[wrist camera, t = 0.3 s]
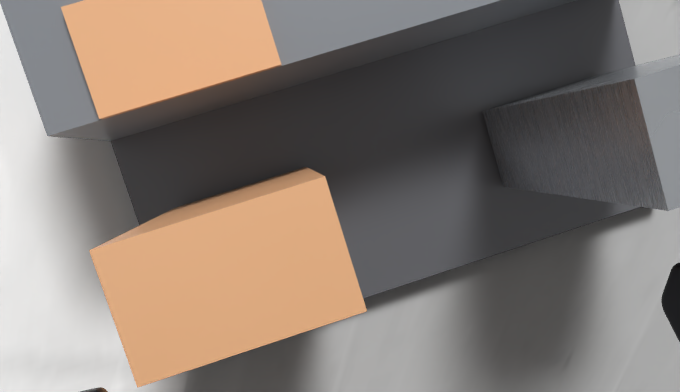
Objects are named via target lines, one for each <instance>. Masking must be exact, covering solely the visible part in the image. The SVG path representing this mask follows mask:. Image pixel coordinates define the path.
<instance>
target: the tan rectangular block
mask: <svg viewBox="0 0 680 392" xmlns="http://www.w3.org/2000/svg"><path fill="white" fill-rule="evenodd" d="M89 252H90V254H91V257H92V260H93V263H94V266H95V269H96V271H97V274H98V277H99V280H100V283H101V286H102V288H103V291H104V294H105V297H106V300H107V303H108V305H109V308H110V311H111V314H112V317H113V320H114V322H115V325H116V328H117V331H118V334H119V336H120V339H121V342H122V345H123V348H124V351H125V353H126V356H127V359H128V362H129V365H130V368H131V370H132V373H133V376H134V379H135V382H136V385H137V387H140V386H143V385H146V384H149V383H153V382H156V381H159V380H162V379H165V378H168V377H171V376H174V375H177V374H180V373H183V372H186V371H189V370H192V369H195V368H198V367H201V366H204V365H207V364H210V363H213V362H216V361H219V360H222V359H225V358H228V357H231V356H234V355H237V354H240V353H243V352H246V351H249V350H252V349H255V348H258V347H261V346H264V345H267V344H270V343H273V342H276V341H279V340H282V339H285V338H288V337H291V336H294V335H297V334H300V333H303V332H306V331H309V330H312V329H315V328H318V327H321V326H324V325H327V324H330V323H333V322H336V321H339V320H342V319H345V318H348V317H351V316H354V315H357V314H360V313H363V312H366V311H367V309H366V306H365V303H364V300H363V296H362V293H361V290H360V287H359V284H358V280H357V277H356V274H355V271H354V268H353V264H352V261H351V258H350V255H349V251H348V248H347V245H346V242H345V239H344V235H343V232H342V229H341V226H340V223H339V219H338V216H337V213H336V210H335V207H334V203H333V200H332V197H331V194H330V190H329V187H328V184H327V181H326V178H325V176H323V175H322V174H320V173H318V172H316V171H314V170H312V169H310V168H308V167H304V168H301V169H298V170H294V171H291V172H288V173H285V174H282V175H278V176H275V177H272V178H269V179H266V180H262V181H259V182H256V183H253V184H250V185H246V186H243V187H240V188H237V189H234V190H230V191H227V192H224V193H221V194H218V195H214V196H211V197H208V198H205V199H201V200H198V201H195V202H192V203H189V204H185V205H182V206H179V207H176V208H174V209H172V210H170V211H168V212H166V213H164V214H162V215H160V216H158V217H156V218H154V219H152V220H150V221H148V222H146V223H144V224H141V225H139V226H137V227H135V228H133V229H131V230H129V231H127V232H125V233H123V234H121V235H119V236H117V237H115V238H113V239H111V240H109V241H107V242H105V243H103V244H101V245H99V246H97V247H95V248H93V249H91V250H89Z"/></svg>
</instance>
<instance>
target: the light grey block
mask: <svg viewBox="0 0 680 392" xmlns="http://www.w3.org/2000/svg"><path fill="white" fill-rule="evenodd" d="M483 116H484V119H485V123H486V126H487V130H488V133H489V137H490V140H491V144H492V147H493V151H494V154H495V158H496V161H497V165H498V169H499V172H500V176H501V179H502V183H503V186H504V187H508V188H515V189H522V190H528V191H535V192H542V193H549V194H556V195H563V196H570V197H577V198H583V199H590V200H597V201H604V202H611V203H618V204H625V205H632V206H638V207H645V208H652V209H659V210H666V211H669V210H672V209H675V208H678V207H680V55H676V56H672V57H668V58H664V59H660V60H656V61H652V62H648V63H644V64H640V65H636V66H632V67H628V68H624V69H620V70H616V71H612V72H608V73H604V74H601V75H598V76H595V77H592V78H588V79H585V80H582V81H579V82H576V83H572V84H569V85H566V86H563V87H560V88H556V89H553V90H550V91H547V92H544V93H540V94H537V95H534V96H531V97H528V98H524V99H521V100H518V101H515V102H512V103H508V104H505V105H502V106H499V107H495V108H492V109H489V110H486V111H483Z"/></svg>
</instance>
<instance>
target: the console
mask: <svg viewBox="0 0 680 392" xmlns="http://www.w3.org/2000/svg"><path fill="white" fill-rule="evenodd" d="M0 3H1V6H2V9H3V12H4V15H5V18H6V20H7V23H8V26H9V29H10V32H11V35H12V37H13V40H14V43H15V46H16V49H17V52H18V54H19V57H20V60H21V63H22V66H23V68H24V71H25V74H26V77H27V80H28V83H29V85H30V88H31V91H32V94H33V97H34V100H35V102H36V105H37V108H38V111H39V114H40V117H41V119H42V122H43V125H44V128H45V131H46V133H47V136H53V137H66V138H78V139H91V140H104V141H111V143H112V146H113V149H114V152H115V155H116V158H117V161H118V164H119V166H120V169H121V172H122V175H123V178H124V181H125V184H126V187H127V190H128V193H129V196H130V198H131V201H132V204H133V207H134V210H135V213H136V216H137V219H138V222H139V225H141V224H144V223H146V222H148V221H150V220H152V219H154V218H156V217H158V216H160V215H162V214H164V213H166V212H168V211H170V210H172V209H174V208H176V207H179V206H182V205H185V204H189V203H192V202H195V201H198V200H201V199H205V198H208V197H211V196H214V195H218V194H221V193H224V192H227V191H230V190H234V189H237V188H240V187H243V186H246V185H250V184H253V183H256V182H259V181H262V180H266V179H269V178H272V177H275V176H278V175H282V174H285V173H288V172H291V171H294V170H298V169H301V168H304V167H308V168H310V169H312V170H314V171H316V172H318V173H320V174H322V175H323V176H325V178H326V181H327V184H328V187H329V190H330V194H331V197H332V200H333V203H334V207H335V210H336V213H337V216H338V219H339V223H340V226H341V229H342V232H343V235H344V239H345V242H346V245H347V248H348V251H349V255H350V258H351V261H352V264H353V268H354V271H355V274H356V277H357V280H358V284H359V287H360V290H361V293H362V296H363V298H366V297H369V296H372V295H375V294H378V293H381V292H384V291H387V290H390V289H393V288H396V287H399V286H402V285H405V284H408V283H411V282H414V281H417V280H420V279H423V278H426V277H429V276H433V275H436V274H439V273H442V272H445V271H448V270H451V269H454V268H457V267H460V266H463V265H466V264H469V263H472V262H475V261H478V260H481V259H484V258H487V257H490V256H493V255H496V254H499V253H502V252H505V251H508V250H511V249H514V248H517V247H520V246H523V245H526V244H529V243H532V242H535V241H538V240H541V239H544V238H547V237H550V236H554V235H557V234H560V233H563V232H566V231H569V230H572V229H575V228H578V227H581V226H584V225H587V224H590V223H593V222H596V221H599V220H602V219H605V218H608V217H611V216H614V215H617V214H620V213H623V212H626V211H629V210H632V209H635V208H638V206H632V205H625V204H618V203H611V202H604V201H597V200H590V199H583V198H577V197H570V196H563V195H556V194H549V193H542V192H535V191H528V190H522V189H515V188H508V187H504V186H503V183H502V179H501V176H500V172H499V169H498V165H497V161H496V158H495V154H494V151H493V147H492V144H491V140H490V137H489V133H488V130H487V126H486V123H485V119H484V116H483V111H486V110H489V109H492V108H495V107H499V106H502V105H505V104H508V103H512V102H515V101H518V100H521V99H524V98H528V97H531V96H534V95H537V94H540V93H544V92H547V91H550V90H553V89H556V88H560V87H563V86H566V85H569V84H572V83H576V82H579V81H582V80H585V79H588V78H592V77H595V76H598V75H601V74H604V73H608V72H612V71H616V70H620V69H624V68H628V67H632V66H635V62H634V58H633V55H632V51H631V47H630V43H629V39H628V35H627V31H626V27H625V23H624V20H623V16H622V12H621V8H620V4H619V0H0Z"/></svg>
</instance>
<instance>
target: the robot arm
mask: <svg viewBox="0 0 680 392" xmlns="http://www.w3.org/2000/svg"><path fill="white" fill-rule="evenodd" d="M662 307H663V310H664V312H665V315H666V316H667V318H668V320H669V322H670V324H671V326H672V328H673V330H674V332H675V334H676V336H677V338H678V340H679V342H680V263H677V264H676V265H674V266H673V268H672V269H671V272H670V275H669V278H668V280H667V283H666V286H665V289H664V292H663V294H662ZM80 392H107V391H106V389H104V388H102V387H100V388H94V389H90V390H85V391H80Z"/></svg>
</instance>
